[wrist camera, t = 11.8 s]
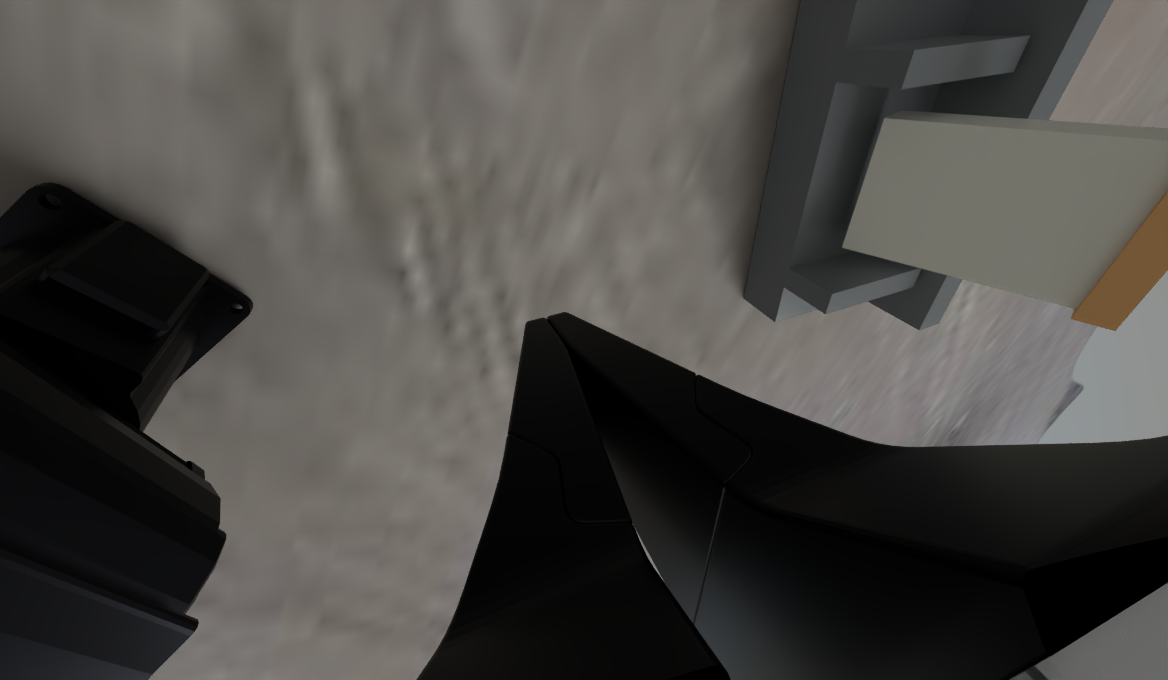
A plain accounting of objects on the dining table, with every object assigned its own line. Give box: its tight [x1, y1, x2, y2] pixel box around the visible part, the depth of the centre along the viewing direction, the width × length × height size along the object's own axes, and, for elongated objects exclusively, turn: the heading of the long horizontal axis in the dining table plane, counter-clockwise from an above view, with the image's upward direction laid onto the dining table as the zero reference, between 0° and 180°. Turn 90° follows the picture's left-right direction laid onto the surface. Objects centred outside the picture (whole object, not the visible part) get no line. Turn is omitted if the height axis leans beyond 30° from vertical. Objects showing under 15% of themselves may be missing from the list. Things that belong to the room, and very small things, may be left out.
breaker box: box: [744, 0, 1113, 330], centre depth 21 cm, size 8×16×7 cm, turn 4°
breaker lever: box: [842, 110, 1168, 331], centre depth 17 cm, size 3×7×10 cm, turn 5°
